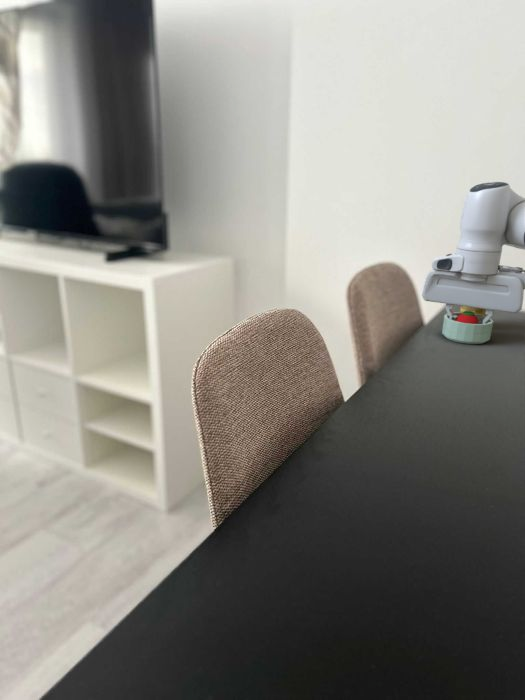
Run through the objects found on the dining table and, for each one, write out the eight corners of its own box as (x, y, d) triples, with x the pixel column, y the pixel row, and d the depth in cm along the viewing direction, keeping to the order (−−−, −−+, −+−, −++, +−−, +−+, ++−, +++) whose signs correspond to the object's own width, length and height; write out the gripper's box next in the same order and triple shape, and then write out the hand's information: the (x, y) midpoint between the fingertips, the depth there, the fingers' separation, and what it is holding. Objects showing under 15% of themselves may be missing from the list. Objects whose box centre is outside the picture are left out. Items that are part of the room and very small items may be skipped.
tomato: (471, 331, 115) (474, 309, 114) (480, 337, 111) (484, 315, 109) (450, 330, 115) (453, 309, 114) (459, 337, 111) (462, 315, 109)
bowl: (477, 331, 118) (480, 312, 117) (498, 345, 109) (501, 324, 107) (435, 331, 118) (437, 312, 116) (452, 344, 108) (455, 324, 107)
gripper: (532, 266, 106) (519, 330, 110) (431, 256, 115) (423, 315, 120) (530, 270, 100) (517, 337, 105) (424, 260, 110) (416, 322, 114)
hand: (466, 326), depth 112 cm, fingers closed on tomato, 4 cm apart
